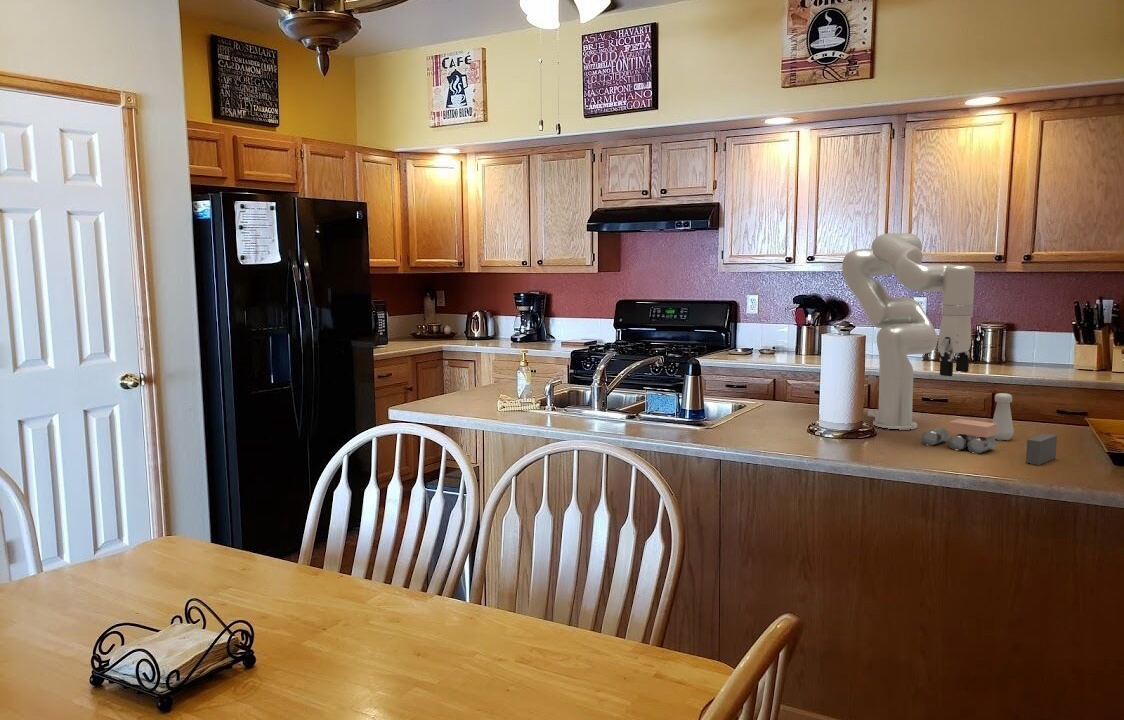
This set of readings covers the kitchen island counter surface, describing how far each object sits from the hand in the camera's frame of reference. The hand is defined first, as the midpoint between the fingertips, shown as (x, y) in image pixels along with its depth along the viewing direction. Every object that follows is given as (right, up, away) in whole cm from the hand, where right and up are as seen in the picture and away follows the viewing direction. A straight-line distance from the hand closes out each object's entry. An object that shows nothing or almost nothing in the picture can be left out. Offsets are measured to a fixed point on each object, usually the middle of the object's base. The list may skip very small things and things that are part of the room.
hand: (954, 373), depth 214 cm
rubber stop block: (+13, -22, -17) cm, 31 cm away
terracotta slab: (+3, -16, -4) cm, 17 cm away
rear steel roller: (+1, -20, -2) cm, 20 cm away
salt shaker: (+17, -19, +7) cm, 26 cm away
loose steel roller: (-3, -20, +4) cm, 20 cm away
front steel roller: (+4, -21, -6) cm, 22 cm away
